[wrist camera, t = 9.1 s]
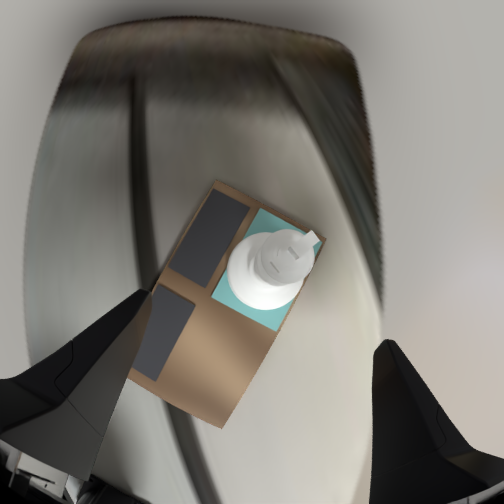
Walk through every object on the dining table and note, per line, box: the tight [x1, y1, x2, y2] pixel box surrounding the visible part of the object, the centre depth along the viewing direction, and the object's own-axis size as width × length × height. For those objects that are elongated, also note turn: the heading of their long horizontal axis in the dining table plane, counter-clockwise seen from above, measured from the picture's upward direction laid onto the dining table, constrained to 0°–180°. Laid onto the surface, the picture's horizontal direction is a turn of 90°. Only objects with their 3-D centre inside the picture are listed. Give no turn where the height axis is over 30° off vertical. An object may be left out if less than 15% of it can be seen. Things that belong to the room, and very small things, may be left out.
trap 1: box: [168, 188, 250, 288], centre depth 19 cm, size 6×3×1 cm, turn 152°
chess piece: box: [227, 229, 320, 310], centre depth 13 cm, size 5×5×10 cm
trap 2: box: [132, 284, 195, 382], centre depth 18 cm, size 6×3×1 cm, turn 152°
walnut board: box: [127, 180, 326, 429], centre depth 18 cm, size 15×8×1 cm, turn 152°
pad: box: [211, 208, 322, 331], centre depth 19 cm, size 7×5×1 cm
